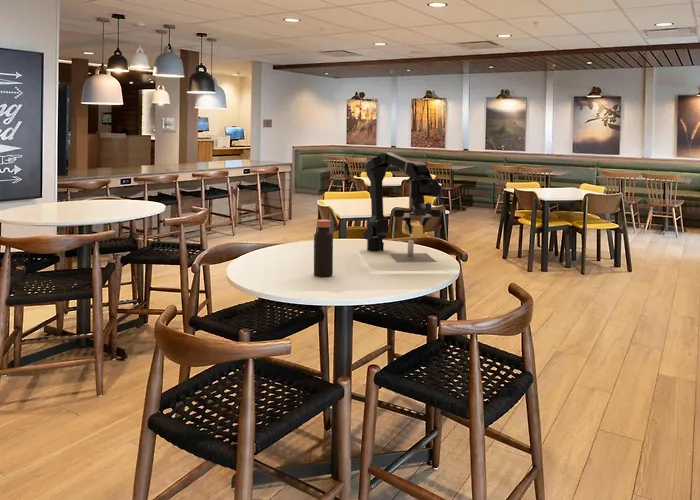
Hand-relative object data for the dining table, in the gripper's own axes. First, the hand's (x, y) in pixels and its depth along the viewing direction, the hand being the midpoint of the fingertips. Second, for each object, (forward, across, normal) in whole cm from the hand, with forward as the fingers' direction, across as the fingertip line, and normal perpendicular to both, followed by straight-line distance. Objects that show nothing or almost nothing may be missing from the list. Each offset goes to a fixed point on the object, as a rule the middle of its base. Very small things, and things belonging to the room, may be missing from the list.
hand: (415, 234), depth 244 cm
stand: (+12, 0, +4) cm, 12 cm away
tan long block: (+1, 0, +4) cm, 4 cm away
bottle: (+12, -38, -20) cm, 45 cm away
